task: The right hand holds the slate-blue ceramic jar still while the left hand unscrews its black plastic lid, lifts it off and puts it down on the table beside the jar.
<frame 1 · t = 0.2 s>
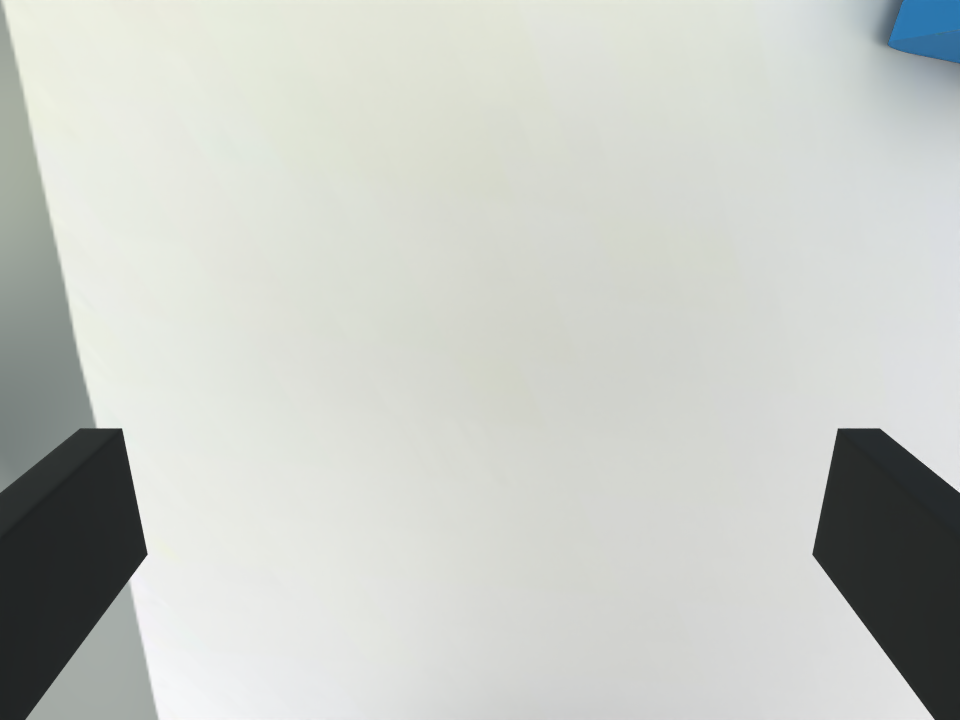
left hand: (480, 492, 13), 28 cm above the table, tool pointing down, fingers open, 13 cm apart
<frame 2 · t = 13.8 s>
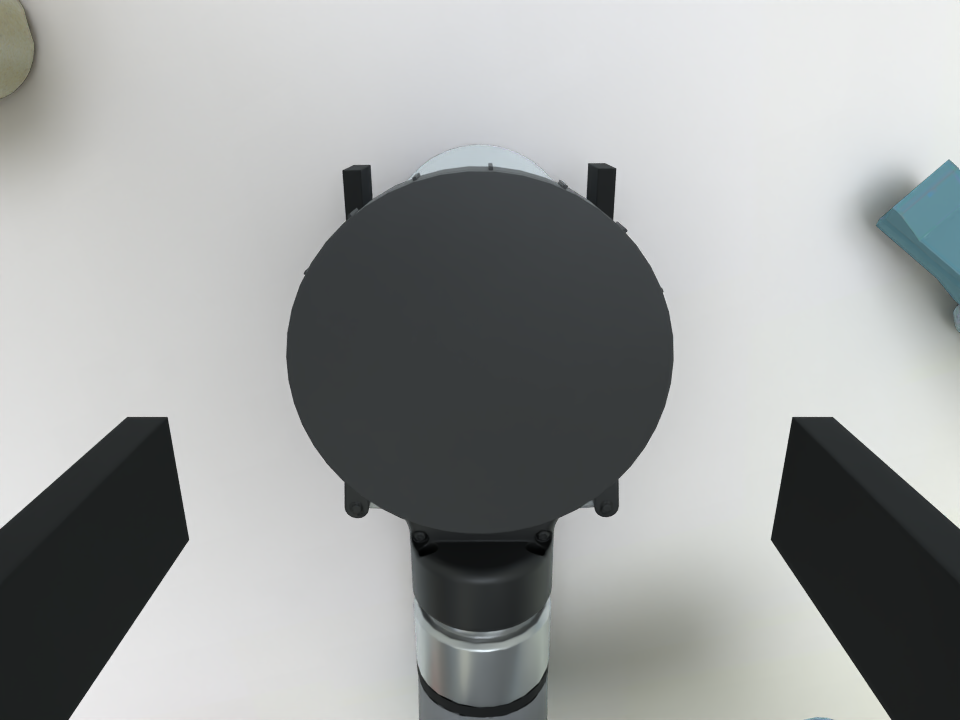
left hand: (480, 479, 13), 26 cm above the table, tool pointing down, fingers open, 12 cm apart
jar: (480, 238, 37), on the table, touching right hand
lid: (479, 366, 19), point 19 cm above the table, screwed on, not yet turned
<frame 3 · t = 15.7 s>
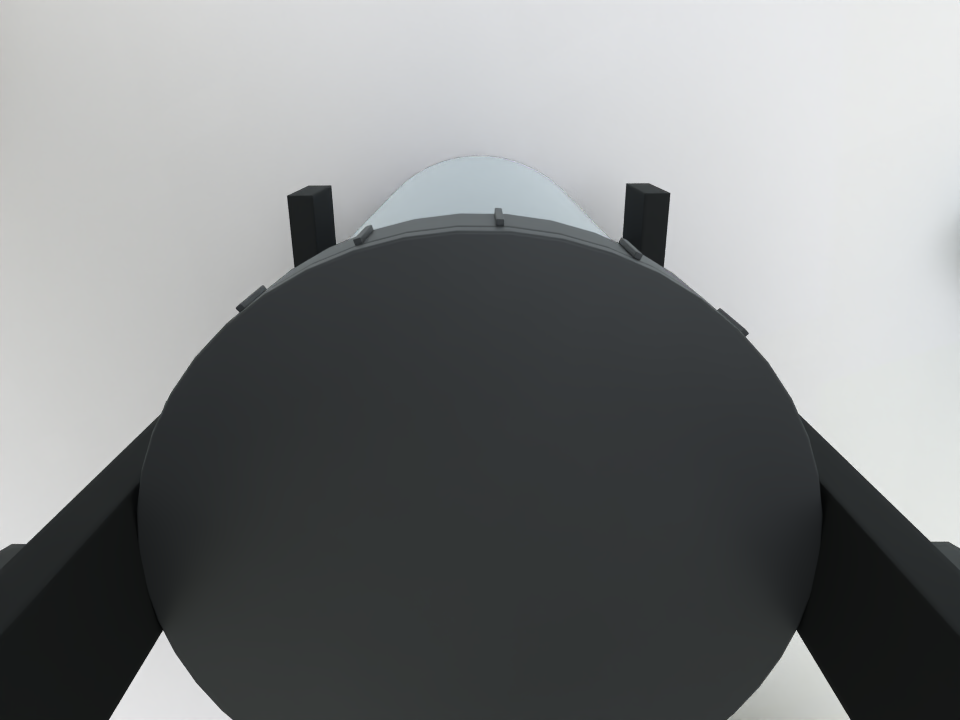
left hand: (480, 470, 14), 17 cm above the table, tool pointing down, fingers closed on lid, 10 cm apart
jar: (479, 275, 29), on the table, touching right hand
lid: (479, 556, 11), point 19 cm above the table, screwed on, not yet turned, touching left hand
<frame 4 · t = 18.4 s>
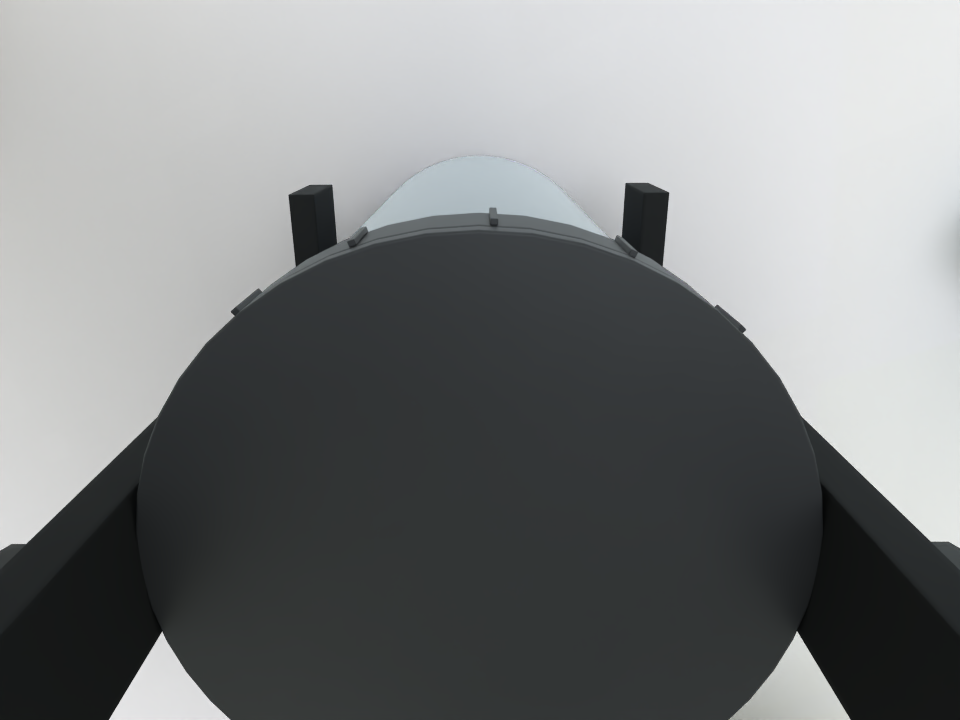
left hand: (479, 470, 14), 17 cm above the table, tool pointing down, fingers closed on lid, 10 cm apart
jar: (479, 274, 29), on the table, touching right hand
lid: (479, 557, 11), point 20 cm above the table, turned 64° so far, risen 0.2 cm, still on its thread, touching left hand
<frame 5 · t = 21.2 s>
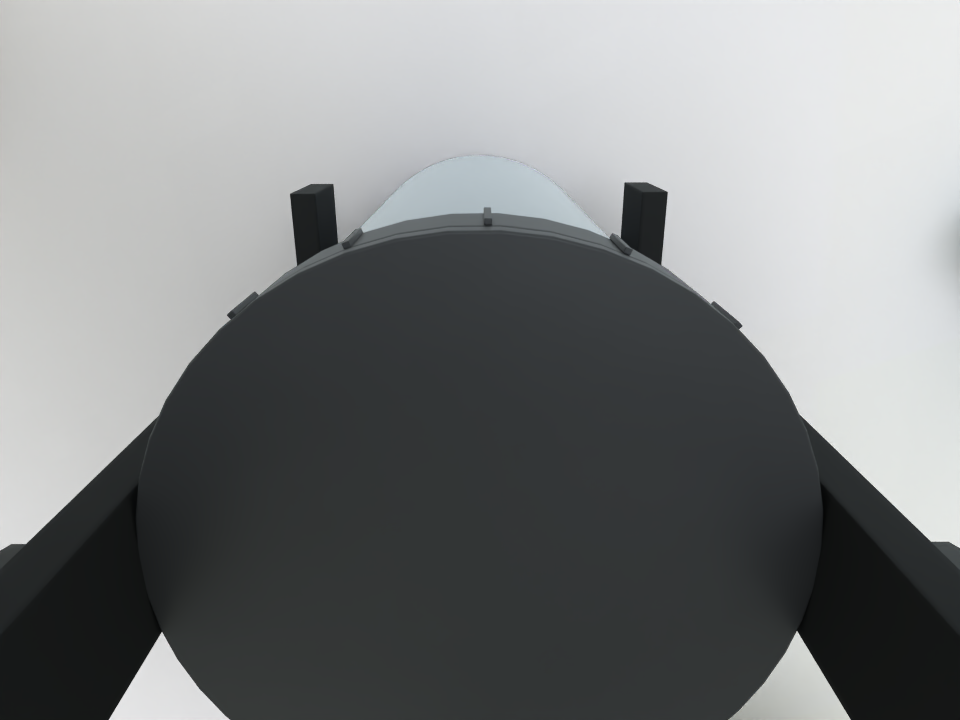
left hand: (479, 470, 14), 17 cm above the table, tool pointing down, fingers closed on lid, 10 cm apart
jar: (479, 273, 29), on the table, touching right hand
lid: (479, 557, 11), point 20 cm above the table, turned 129° so far, risen 0.3 cm, still on its thread, touching left hand
when the left hand's fingers open (0 cm above the table, at t = 29.1 s): lid drops 2 cm, point 1 cm above the table.
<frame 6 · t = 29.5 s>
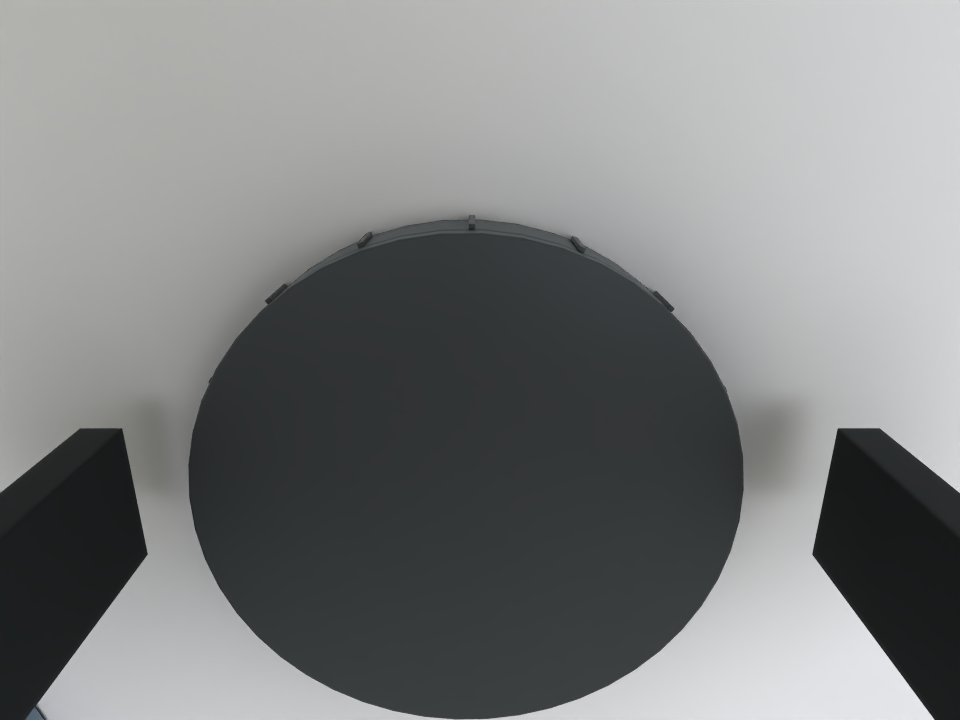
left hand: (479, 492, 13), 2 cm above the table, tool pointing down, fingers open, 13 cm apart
lid: (467, 500, 13), point 1 cm above the table, off its thread
when the right hand's fingers open (7 cm above the table, at t = 30.1 s): jar stays where it is, on the table.
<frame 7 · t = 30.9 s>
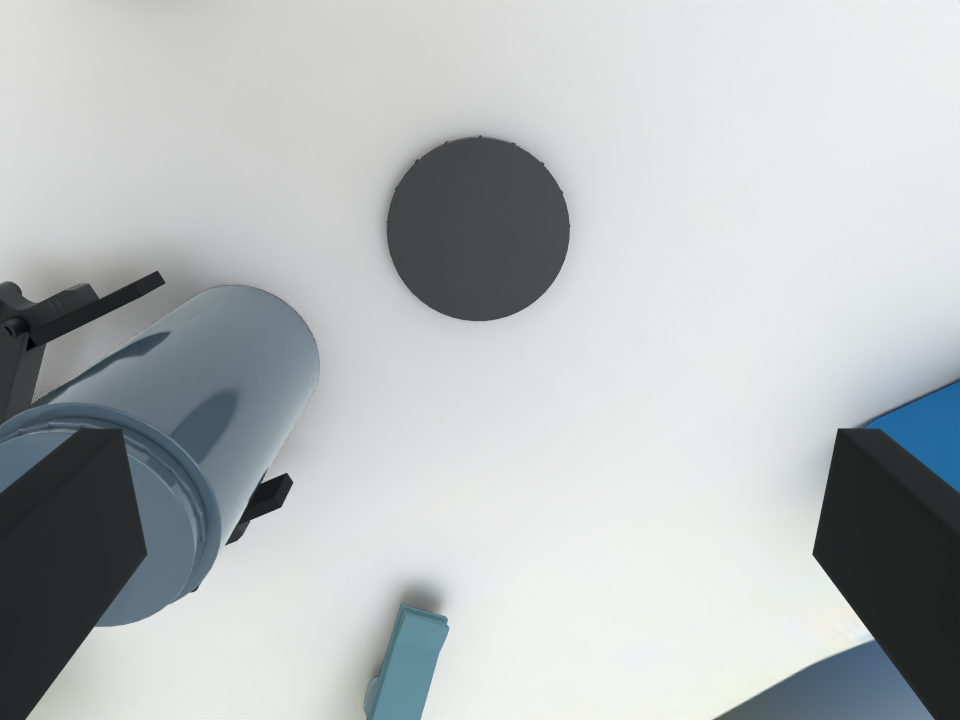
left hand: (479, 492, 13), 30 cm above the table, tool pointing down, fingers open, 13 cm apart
jar: (243, 359, 44), on the table
lid: (478, 232, 40), point 1 cm above the table, off its thread
toy gun: (397, 667, 53), on the table
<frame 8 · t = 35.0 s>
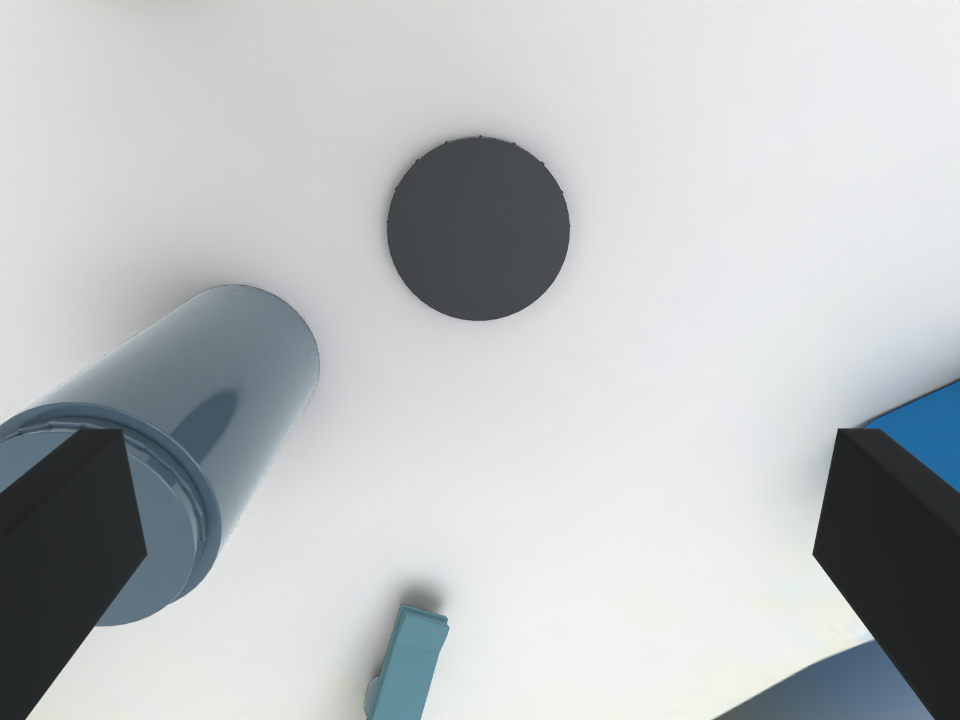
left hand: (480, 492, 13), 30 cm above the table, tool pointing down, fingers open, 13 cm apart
jar: (243, 358, 44), on the table
lid: (478, 232, 40), point 1 cm above the table, off its thread
toy gun: (397, 667, 53), on the table
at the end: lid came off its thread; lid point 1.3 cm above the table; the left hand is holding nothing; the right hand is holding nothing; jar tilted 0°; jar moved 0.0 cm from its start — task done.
